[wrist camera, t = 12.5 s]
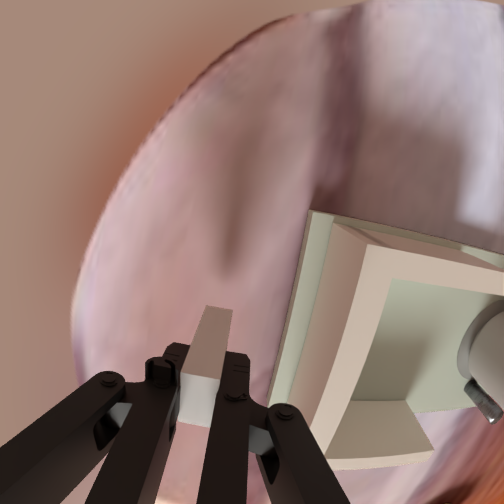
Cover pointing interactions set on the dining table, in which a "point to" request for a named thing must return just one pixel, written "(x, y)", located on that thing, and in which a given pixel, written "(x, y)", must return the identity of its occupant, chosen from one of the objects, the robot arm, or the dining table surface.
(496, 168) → the dining table surface
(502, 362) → the beverage can
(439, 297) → the board
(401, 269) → the housing
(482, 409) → the pins
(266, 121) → the dining table surface
